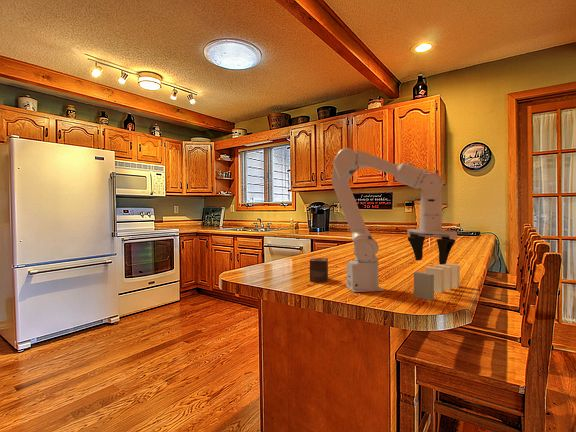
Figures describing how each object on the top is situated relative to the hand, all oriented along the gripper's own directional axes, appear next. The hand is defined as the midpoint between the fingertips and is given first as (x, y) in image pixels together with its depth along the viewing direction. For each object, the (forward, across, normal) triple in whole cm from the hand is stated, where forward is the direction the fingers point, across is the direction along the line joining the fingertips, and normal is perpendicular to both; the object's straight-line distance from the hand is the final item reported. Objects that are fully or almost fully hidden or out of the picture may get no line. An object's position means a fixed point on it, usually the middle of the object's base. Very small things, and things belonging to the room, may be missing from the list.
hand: (430, 262), depth 91 cm
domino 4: (+10, +3, -15) cm, 18 cm away
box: (+10, +32, +16) cm, 37 cm away
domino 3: (+10, +2, -10) cm, 14 cm away
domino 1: (+10, -1, +5) cm, 11 cm away
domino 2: (+10, +2, -5) cm, 11 cm away
